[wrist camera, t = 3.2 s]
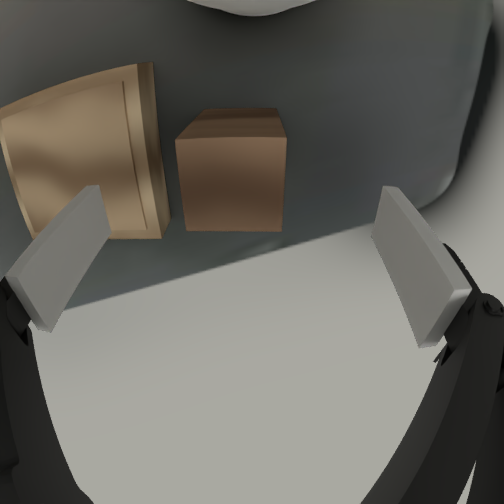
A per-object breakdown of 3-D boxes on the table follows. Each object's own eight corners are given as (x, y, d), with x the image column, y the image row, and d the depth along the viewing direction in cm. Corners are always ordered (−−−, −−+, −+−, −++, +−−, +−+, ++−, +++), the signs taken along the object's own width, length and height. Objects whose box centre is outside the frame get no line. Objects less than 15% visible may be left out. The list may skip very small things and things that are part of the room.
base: (16, 101, 16) (-8, 112, 14) (152, 61, 16) (135, 63, 13) (48, 222, 24) (31, 241, 22) (171, 218, 24) (161, 240, 21)
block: (204, 109, 18) (174, 139, 12) (276, 108, 18) (286, 137, 12) (208, 172, 22) (186, 231, 15) (274, 172, 21) (281, 231, 15)
